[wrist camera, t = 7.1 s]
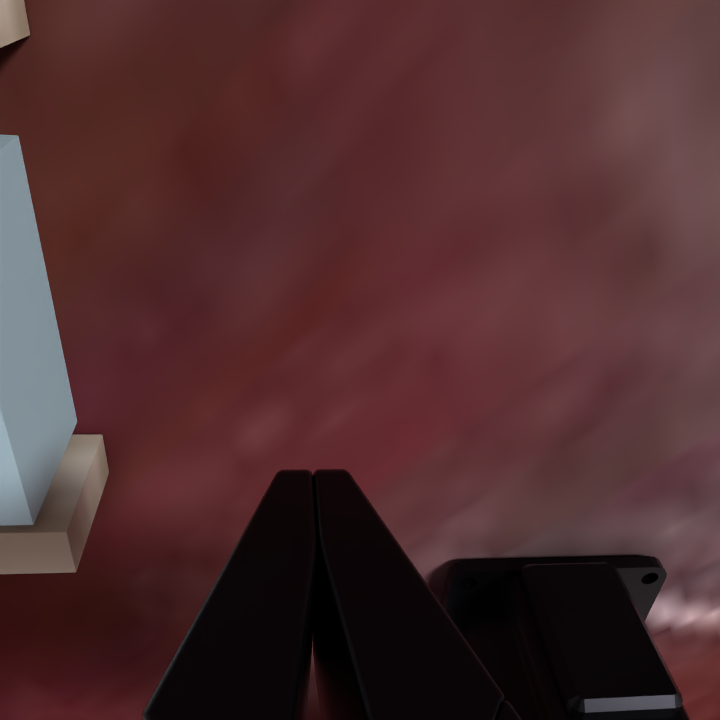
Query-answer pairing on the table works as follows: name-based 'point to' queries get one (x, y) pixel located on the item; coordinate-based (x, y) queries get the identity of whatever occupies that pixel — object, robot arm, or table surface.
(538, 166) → the table surface
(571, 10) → the table surface
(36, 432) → the light blue rectangular block
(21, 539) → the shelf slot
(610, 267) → the table surface
